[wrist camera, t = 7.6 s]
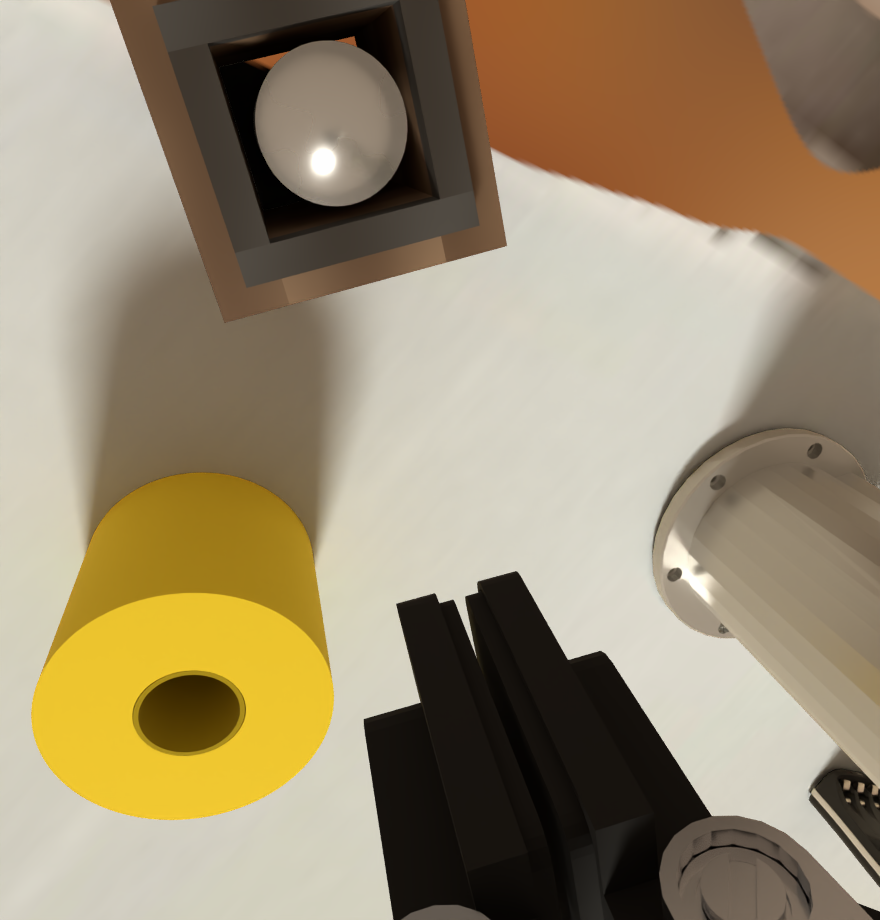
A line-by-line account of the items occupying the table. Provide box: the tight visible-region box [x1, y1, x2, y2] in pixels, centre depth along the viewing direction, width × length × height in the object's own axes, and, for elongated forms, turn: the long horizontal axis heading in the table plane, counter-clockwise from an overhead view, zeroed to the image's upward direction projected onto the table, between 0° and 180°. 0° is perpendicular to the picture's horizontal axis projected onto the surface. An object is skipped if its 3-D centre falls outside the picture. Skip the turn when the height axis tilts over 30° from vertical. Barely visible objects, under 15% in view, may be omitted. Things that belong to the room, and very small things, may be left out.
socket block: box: [110, 0, 507, 323], centre depth 24 cm, size 9×9×9 cm
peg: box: [253, 41, 407, 206], centre depth 23 cm, size 4×4×8 cm
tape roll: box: [31, 472, 334, 820], centre depth 30 cm, size 10×10×9 cm
